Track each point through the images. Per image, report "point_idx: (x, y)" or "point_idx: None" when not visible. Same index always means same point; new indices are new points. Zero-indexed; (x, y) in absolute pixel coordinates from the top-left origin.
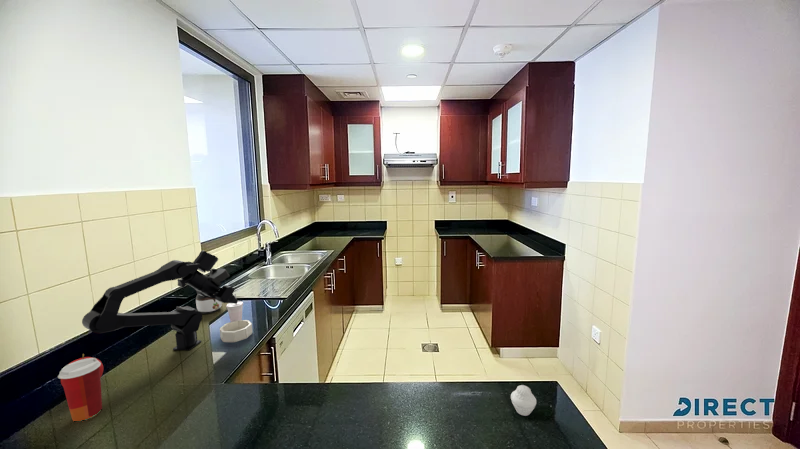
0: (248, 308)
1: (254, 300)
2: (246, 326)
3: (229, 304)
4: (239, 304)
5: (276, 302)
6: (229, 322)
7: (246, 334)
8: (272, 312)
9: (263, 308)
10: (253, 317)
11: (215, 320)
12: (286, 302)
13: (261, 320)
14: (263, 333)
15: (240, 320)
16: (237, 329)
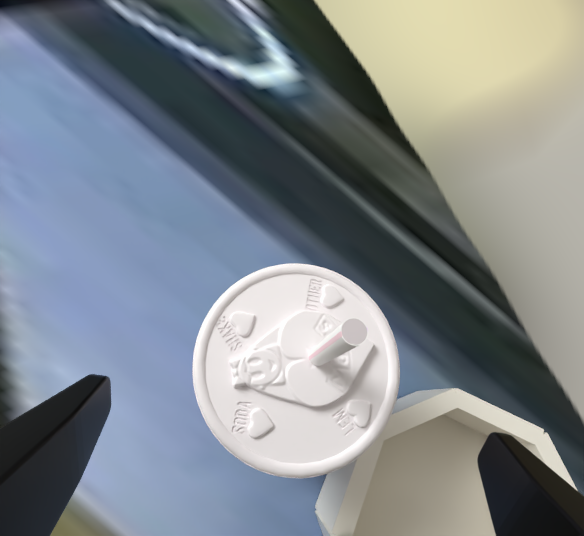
0: (107, 126)
1: (39, 17)
2: None
3: (235, 398)
4: (371, 348)
5: (226, 15)
6: (342, 503)
7: None
8: (331, 134)
9: (218, 102)
10: (274, 229)
11: (6, 372)
12: (289, 5)
13: (370, 249)
14: (560, 398)
15: (398, 421)
16: (383, 460)
